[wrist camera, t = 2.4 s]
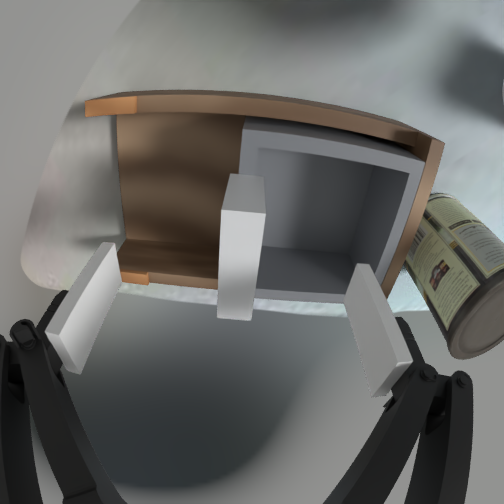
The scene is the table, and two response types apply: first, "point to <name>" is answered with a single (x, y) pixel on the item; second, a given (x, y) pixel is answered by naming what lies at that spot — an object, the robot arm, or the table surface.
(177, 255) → the bay
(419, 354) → the robot arm
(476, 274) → the coffee can
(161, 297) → the table surface
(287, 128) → the box
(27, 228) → the table surface
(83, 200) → the table surface
